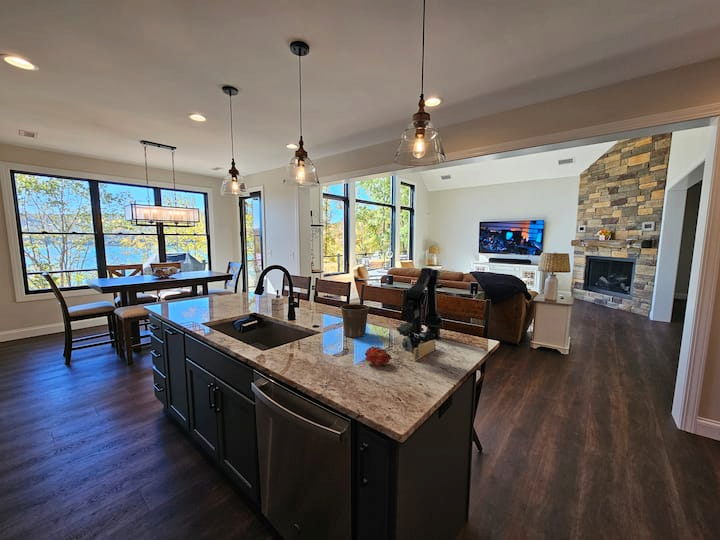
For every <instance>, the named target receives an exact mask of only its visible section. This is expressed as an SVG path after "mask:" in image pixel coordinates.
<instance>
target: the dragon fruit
mask: <svg viewBox="0 0 720 540" xmlns="http://www.w3.org/2000/svg"><path fill="white" fill-rule="evenodd" d="M364 355H365V358H364V360H366V361H368V362H369V363H370V364H371V366H372V367H374V366H379V367H380V368H383V367H386V365H385V364H389V362H390V360H393V359H392V356H391V354H389V353H387V351H386V350H385V349H383V348H380V346H377V347H376V346H373V345H372V346H371V347H368V349H366V351H365V353H364Z"/></svg>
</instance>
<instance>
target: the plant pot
mask: <svg viewBox="0 0 720 540" xmlns="http://www.w3.org/2000/svg"><path fill="white" fill-rule="evenodd" d="M340 309H341V315H342V325H343V335H344V336H346V337H349V338H359V337H360V338H362V337H364V336H366V334H367V333H366V331H367V321H368V314H369V309H370V305H366V304H362V303H361V304H360V303H359V304H358V303H351V304H343V305H341V306H340Z"/></svg>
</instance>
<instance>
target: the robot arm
mask: <svg viewBox="0 0 720 540" xmlns="http://www.w3.org/2000/svg"><path fill="white" fill-rule="evenodd" d="M440 278H441V272H440V271H439V270H438V269H433V268H431V267H422V268H421V270H420V274H419V276H418V278H417V280H416V282H415V284H414V285H412V286H411V287H409V289H408V291H407V292H406V296H405V300H404V306H406V308H405V309H404V310H402V312H401V317H402V320H403V321H405V323H401V324H398V325H397V327H396V328H397V329H396V331H397V332H398V333H399V335H401V336H403V337H406V338H409V339H410V342H411V345H412V348H413V351H414V348H416V347H418V345H419V343H420V342H421V341H424V342H428V341H432V340H434V339H435V340H440V339H442V338H443V337H441V335H440V334H441V329H443V328H444V324H443V319H442V317H441V313H440V311H439V310H438V304H437V303H438V302H437V283H438V282H439V280H440ZM425 289H427V290H425ZM426 291H427V294H426ZM426 299H427V312H426V314H425V316H424V318H423V306H424V305H425V302H426ZM423 323H424V326H425V328H427V329H426V331H425V330H424V329H425V328H424V327H423Z"/></svg>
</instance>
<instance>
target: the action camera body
mask: <svg viewBox="0 0 720 540" xmlns="http://www.w3.org/2000/svg"><path fill="white" fill-rule="evenodd" d="M428 342H429V341H428ZM425 343H427V342H424V341H421V342H420V343H419V345H418V346H420V345H422V344H425ZM401 345H402V348H403V349H404V350H406V351H408V352H409V353H411V354H414V351H413V348H412V345H411V342H410V339H409V338H408V337H403V341H402V343H401Z"/></svg>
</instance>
